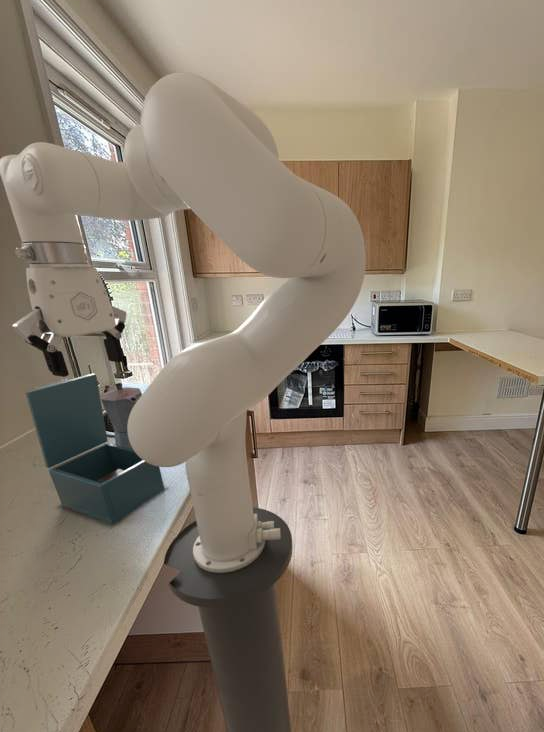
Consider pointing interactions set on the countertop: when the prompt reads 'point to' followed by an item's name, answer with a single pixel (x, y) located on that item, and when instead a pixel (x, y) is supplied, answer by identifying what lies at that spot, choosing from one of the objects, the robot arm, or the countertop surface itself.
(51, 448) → the bin lid
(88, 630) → the countertop surface
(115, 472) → the block
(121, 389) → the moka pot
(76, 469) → the bin
